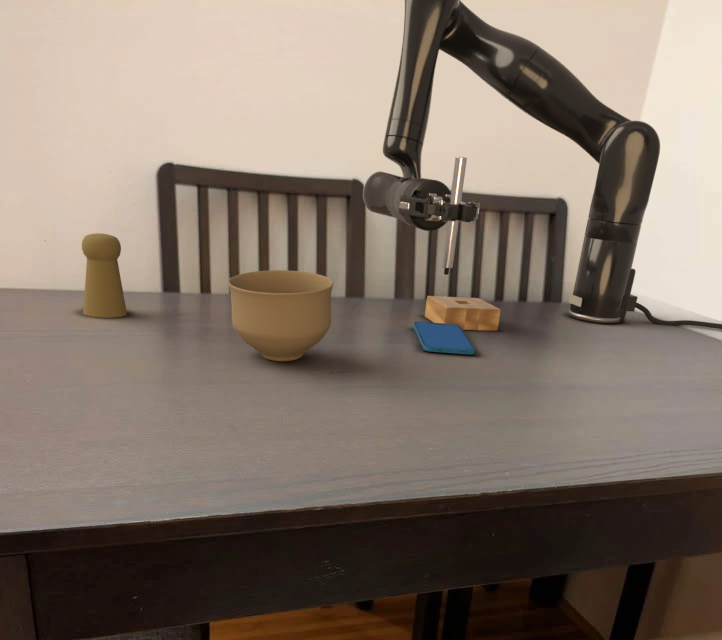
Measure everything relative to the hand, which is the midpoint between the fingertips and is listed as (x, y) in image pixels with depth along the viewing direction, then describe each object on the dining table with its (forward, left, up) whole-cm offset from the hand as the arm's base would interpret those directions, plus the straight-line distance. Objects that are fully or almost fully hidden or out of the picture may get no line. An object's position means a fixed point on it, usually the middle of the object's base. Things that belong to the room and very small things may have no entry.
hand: (462, 213), depth 102 cm
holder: (-7, -12, -18) cm, 23 cm away
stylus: (0, -3, -9) cm, 9 cm away
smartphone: (+1, +1, -18) cm, 18 cm away
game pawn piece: (+49, -11, -18) cm, 53 cm away
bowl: (+27, +12, -18) cm, 35 cm away
